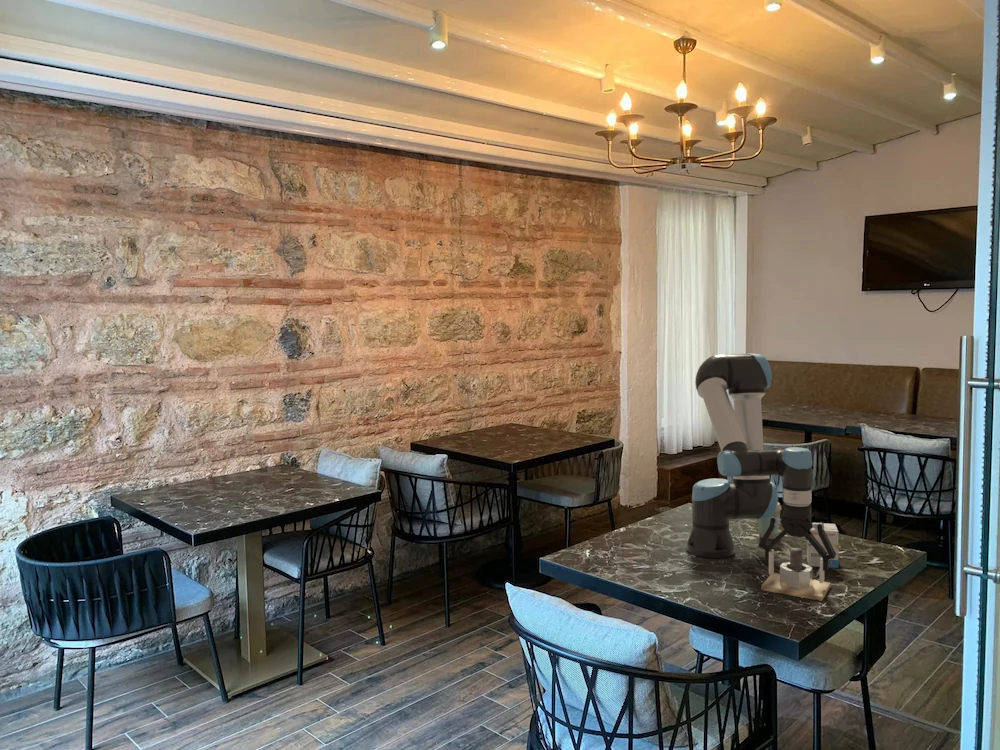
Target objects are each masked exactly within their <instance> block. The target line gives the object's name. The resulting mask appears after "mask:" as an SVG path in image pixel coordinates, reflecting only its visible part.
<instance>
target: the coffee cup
mask: <svg viewBox="0 0 1000 750" xmlns="http://www.w3.org/2000/svg"><path fill="white" fill-rule="evenodd" d="M781 511H782V505H781V503H780V502H779V501H778V504H777V508H776V511H775V512H774V514H773V515H772V516H771V517H769V518H761V519H756V520H757V527H758V529H757V530H758V535H759V538H761V539H762V538H763V536H764V535H765V533H766V531H767V529H768V528H769V526H770V520H771V518H772V517H773V516H776V517H777V518H779V519H781V518H780V517H781V516H780V515H781ZM779 525H780V523H779V524H778V525H777V526H775V528H774V530H773V531H772V533H771V535H770V536H769V538H768V540H774V539H775V538H776V537H777V536H778V534H779V533H778V532H779Z"/></svg>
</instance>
